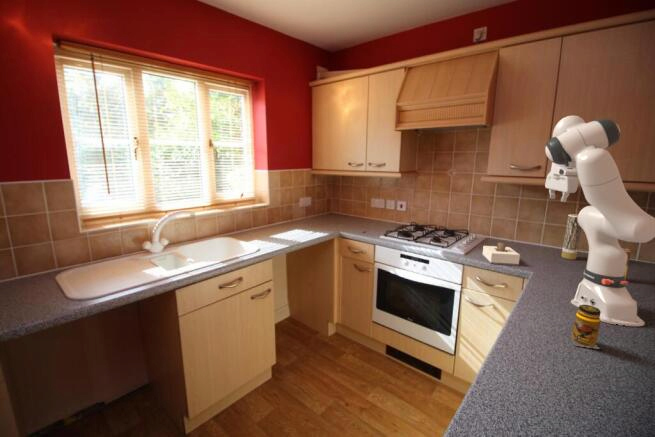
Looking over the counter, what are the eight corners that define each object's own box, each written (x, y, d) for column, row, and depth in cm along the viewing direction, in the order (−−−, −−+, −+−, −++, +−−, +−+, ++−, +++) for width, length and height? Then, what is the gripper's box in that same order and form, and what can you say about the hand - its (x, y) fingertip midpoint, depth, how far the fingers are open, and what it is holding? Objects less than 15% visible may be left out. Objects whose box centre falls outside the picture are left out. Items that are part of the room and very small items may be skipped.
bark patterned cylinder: (570, 256, 185) (578, 214, 180) (578, 260, 178) (586, 216, 173) (558, 255, 185) (565, 214, 180) (565, 259, 179) (573, 216, 174)
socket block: (518, 265, 169) (520, 254, 167) (490, 263, 171) (491, 253, 169) (508, 257, 182) (509, 247, 181) (482, 255, 184) (483, 245, 183)
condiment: (575, 347, 98) (582, 311, 96) (563, 332, 106) (569, 299, 104) (603, 351, 96) (611, 315, 94) (589, 335, 104) (595, 302, 102)
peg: (504, 260, 174) (507, 244, 172) (497, 259, 175) (499, 243, 173) (502, 257, 178) (504, 242, 176) (494, 257, 179) (496, 241, 177)
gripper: (543, 169, 157) (539, 196, 160) (567, 171, 137) (562, 203, 140) (557, 169, 156) (553, 197, 159) (583, 172, 136) (577, 203, 139)
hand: (557, 200), depth 149 cm, fingers open, 8 cm apart
